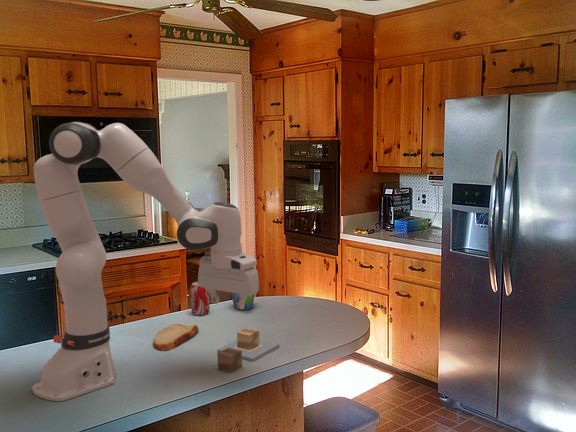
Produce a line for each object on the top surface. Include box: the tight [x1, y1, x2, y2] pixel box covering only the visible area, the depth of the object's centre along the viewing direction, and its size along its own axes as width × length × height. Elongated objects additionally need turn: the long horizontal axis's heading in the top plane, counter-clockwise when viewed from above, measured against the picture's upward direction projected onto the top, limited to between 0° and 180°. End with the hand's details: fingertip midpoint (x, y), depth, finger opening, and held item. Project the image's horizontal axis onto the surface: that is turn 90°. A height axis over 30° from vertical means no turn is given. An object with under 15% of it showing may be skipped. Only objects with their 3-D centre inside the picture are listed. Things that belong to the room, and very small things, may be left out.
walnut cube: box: [217, 348, 243, 374], centre depth 164 cm, size 5×5×5 cm
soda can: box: [190, 281, 211, 317], centre depth 215 cm, size 7×7×12 cm
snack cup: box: [230, 292, 255, 311], centre depth 221 cm, size 16×10×10 cm
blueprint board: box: [216, 339, 280, 362], centre depth 178 cm, size 14×14×1 cm
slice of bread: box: [152, 323, 199, 352], centre depth 189 cm, size 18×18×4 cm
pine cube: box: [236, 327, 260, 351], centre depth 177 cm, size 5×5×5 cm
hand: (228, 305), depth 162 cm, fingers open, 8 cm apart
